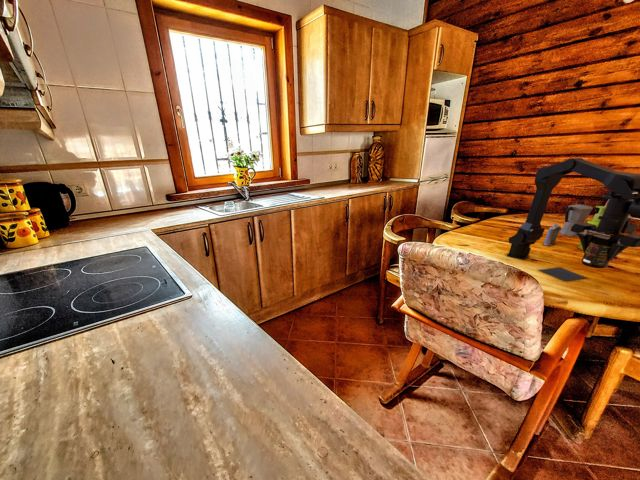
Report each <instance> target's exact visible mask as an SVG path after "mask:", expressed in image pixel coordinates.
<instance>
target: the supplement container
mask: <svg viewBox="0 0 640 480" xmlns="http://www.w3.org/2000/svg"><path fill="white" fill-rule="evenodd" d="M618 241H619V240H617V239H613V238H610V237H606V236H602V235H592V237H591V239H590V242H589V244H588V246H587V249H586V251H585V253H584V252H583V256H582V258H581V261H580V262H581V264H582V265H584V266H586V267H589V268H593V269H605V268H607V267H608V266H609V264H610V262H611V261H607V258H608V254H609V251H610V249H611V246H612V243H618Z"/></svg>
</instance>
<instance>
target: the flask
mask: <svg viewBox="0 0 640 480" xmlns="http://www.w3.org/2000/svg"><path fill="white" fill-rule="evenodd" d="M561 229H562V225H560V224H558V223H556V222H552V226H550V227H548V229H547V233H546V236H545V238H544V241H543V244H542V245H543V246H546V247H550V246H552V245H553V244H555V243H556V241H557V238H558V235H559V234H560V233H559V232H560V230H561Z"/></svg>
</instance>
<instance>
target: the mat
mask: <svg viewBox="0 0 640 480" xmlns="http://www.w3.org/2000/svg"><path fill="white" fill-rule="evenodd" d="M538 271H540V272H542V273H544V274H547V275H549V276H551V277H554V278H556V279H559V280H561V281H563V282H569V281H574V280H575V281H576V280H583V279H587V277H586V276H584V275H581V274H578V273H576V272H573V271H571V270H568V269H566V268H563V267H552V268H545V269H539V270H538Z"/></svg>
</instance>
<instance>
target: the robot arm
mask: <svg viewBox="0 0 640 480" xmlns="http://www.w3.org/2000/svg"><path fill="white" fill-rule="evenodd" d="M573 172H574V173H576V174H579V175H581V176H584V177H587V178H589V179H590V180H591V179H592V180H594V181H597V182H599V183H601V184H603V186H604V188H605V189H607V190H609V191H610V192H608V193H607V194H604V195H601V199H605V200H608V202H607V203H606V205H605V207H606V208H605V211H604V213H603V215H602V216H599V217H598V219H601V220H600V222H599V225H598V227H596V225H593V224H589V223H588V222H584V223H577V224H574V225H573V226H572V227H571V230H570V231H572V232H576V233H577V234H576V235H578V236H579V237H578V238H579V240H580V241H581V244H582V247H583V250H582V251H583V254H584V253H585V251H586V249H587V246H588V244H589V242H590V239H591V237H592V235H602V236H606V237H610V238H613V239H617V240H619V241H618V243H612V246H611V249H610V251H609V254H608V258H607V261H610V262H611V261H612V260H613V259H615V258H616V257H618V255H619V254H620V253H622V252H623V251H625V250H626V249H627V248H640V234H637V233H635V231H636V230H637V229H638V228H639V225H638V224H636V223H633V222H631V220H632V219H631V218H635V219H640V173H635V172H629V171H628V172H626V171H618V170H614V169H611V168H608V167H606V166H603V165H600V164H597V163H594V162H591V161H589V160H586V159H584V158H582V157H575V158H573V157H572V158H568V159H566V160H564V161H561V162H558V163H554V164H552V165H548V166H542V167H540V168H539V169H538V170H536V172H535V177H534V184H535V188H536V190H535V192H534V196H533V197H532V202H531V204H530V207H529V210H528V213H527V216H526V218H525V221H524V222H523V223H522V224H521V226H519V228H518V229H517V232H516V233H515V234H514V235H512V236H510V237H508V243H509V244H510V248H509V251H508V254H506V256H507V257H511V258H515V259H520V260H525V259H527V258H528V257H529V256H530V253H531V250H532V247H531V245H535V243H536V242H537V241H539V240H541V238H543V237H544V232H545V230H546V227H542V225H541V223H542V220H543V218H544V214H545V212H546V209H547V205H548V203H549V201H550V198H551V196H552V192H553V190H554V189H555V188H556V187H557V186H558V185H559V184H560V182H561V181H562V179H563V178H564V177H565V176H566V175H569V174H572V173H573ZM629 216H630V217H629ZM601 232H602V233H601ZM580 241H579V242H580Z"/></svg>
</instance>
